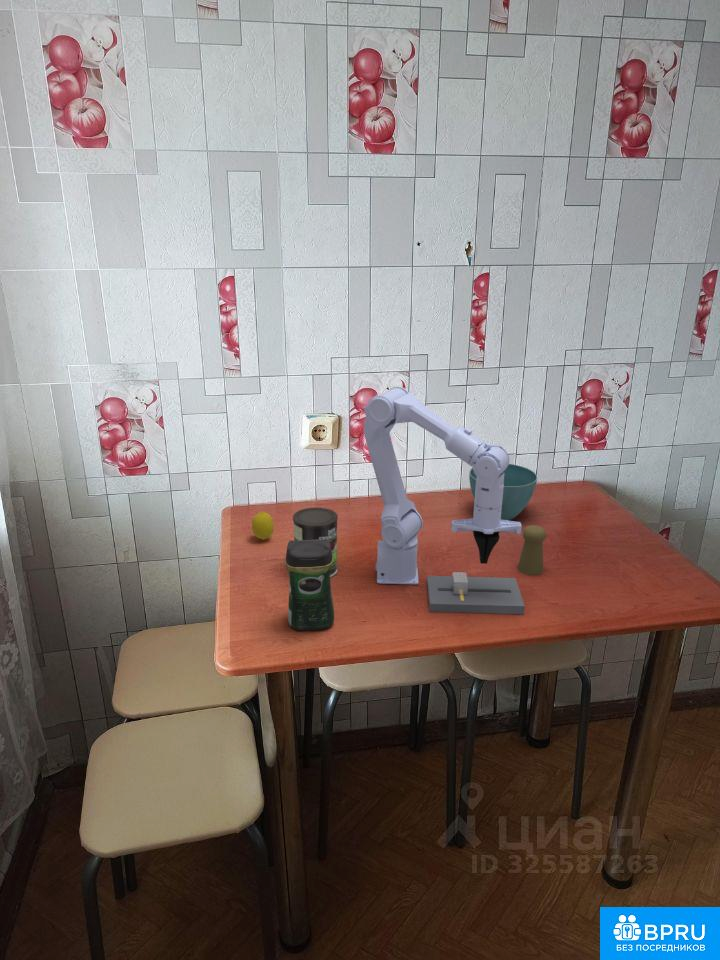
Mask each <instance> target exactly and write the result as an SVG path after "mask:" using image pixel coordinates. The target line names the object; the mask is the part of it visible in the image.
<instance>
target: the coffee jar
mask: <svg viewBox="0 0 720 960" xmlns="http://www.w3.org/2000/svg"><path fill="white" fill-rule="evenodd" d="M284 560H285V567H286V569H287V572H288V579H289V582H288V583H289V587H288V588H289V590H288V606H287V620H288V625H289V626H290V627H291V628H292V629H294V630H297V631H316V630H324V629H329V628H330V627H331V626H332V625H333V624H334V621H335V609H334V608H335V607H334V600H333V595H332V587H331V586H332V585H331V578H330V569H331V567H332V564H333V556H332V550H331V546H330V542H329V540H328V539H316V540H296V541H294V540H289V541H288V543H287V546H286V554H285V559H284Z"/></svg>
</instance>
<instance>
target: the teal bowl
mask: <svg viewBox="0 0 720 960" xmlns="http://www.w3.org/2000/svg"><path fill="white" fill-rule="evenodd" d="M503 472H504V488H503V499H502V510H501V519H502V520H507V521H512V520H513V519H515V518H517V516H518V515H519V514H520V513H521V512H523V510H524V509H525V508H526V507H527V505H528V503H529V502H530V501H531V499H532V497H533V496H534V495H533V494H534V492H535V489H536V486H537V482H538V475H537V473H535V471H533V470H532V469H530V468H528V467H524V466H522V465H518V464H514V463H513V464H512V463H509V465H508V467H507V468H506V469H505V470H504V471H503ZM503 472H502V473H503ZM468 475H469V477H468V478H469V479H468V480H469V486H470V490H471V493H472V496H473V499H474V501H475V488H476V479H477V476H476V475H475V473H474V471H473V467H471V468H470V470H469V474H468Z"/></svg>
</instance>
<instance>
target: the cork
mask: <svg viewBox="0 0 720 960" xmlns="http://www.w3.org/2000/svg"><path fill="white" fill-rule="evenodd" d="M546 535H547V534H546V530H545V528H543V527H542V526H539V525H533V524H532V525H527V526H526V527H525V528H524V529H523V532H522V536H523V539H524V542H523V545H522V549H521V553H520V557H519V562H518V565H517V570H518V572H519V573H521V574H524V575H526V576H540V575H542V574H543V573H544V549H543V548H544V547H543V543H544V541H545V539H546V537H547V536H546Z"/></svg>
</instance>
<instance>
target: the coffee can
mask: <svg viewBox="0 0 720 960" xmlns="http://www.w3.org/2000/svg"><path fill="white" fill-rule="evenodd" d="M292 521H293V541H296V540H316V539H328V540H329V542H330V546H331V550H332V556H333V564H332V567H331V569H330V579H331V578H333V577H334V576H335V575H336V574H337V573H338V514H337V512H336V511H334V510H332V509H329V508H326V507H307V508H303V509H300V510H298V511H295V512H294V514H293V515H292Z"/></svg>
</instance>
